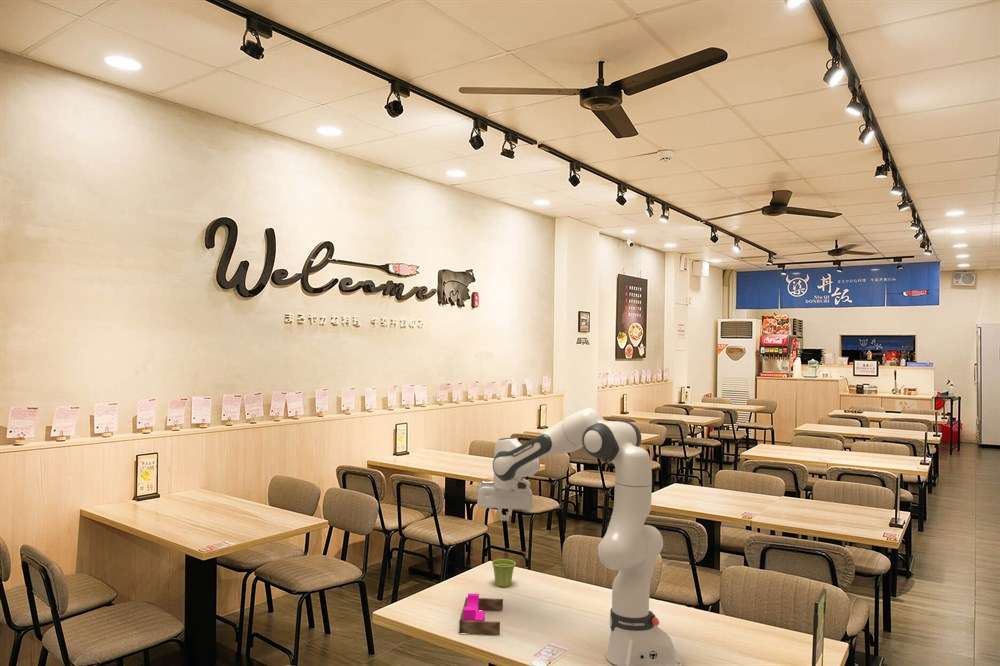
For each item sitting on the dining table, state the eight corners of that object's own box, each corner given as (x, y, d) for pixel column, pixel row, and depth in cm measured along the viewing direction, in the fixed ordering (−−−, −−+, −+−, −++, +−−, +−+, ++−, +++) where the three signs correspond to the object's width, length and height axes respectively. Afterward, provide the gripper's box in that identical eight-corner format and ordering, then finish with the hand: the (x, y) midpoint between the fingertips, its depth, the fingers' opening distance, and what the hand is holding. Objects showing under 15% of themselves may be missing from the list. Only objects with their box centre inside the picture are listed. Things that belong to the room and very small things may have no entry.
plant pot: (504, 579, 270) (505, 557, 270) (519, 585, 263) (520, 563, 263) (486, 583, 264) (487, 561, 265) (501, 590, 257) (501, 568, 257)
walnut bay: (502, 610, 237) (502, 598, 237) (499, 635, 216) (499, 623, 216) (465, 608, 238) (466, 597, 238) (459, 633, 217) (459, 621, 217)
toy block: (482, 633, 217) (482, 610, 218) (463, 633, 218) (463, 609, 218) (485, 615, 232) (486, 594, 233) (467, 615, 233) (468, 593, 233)
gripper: (476, 482, 238) (475, 521, 238) (533, 484, 237) (532, 523, 237) (477, 479, 245) (476, 517, 244) (533, 481, 244) (532, 519, 243)
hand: (504, 520), depth 241 cm, fingers closed
